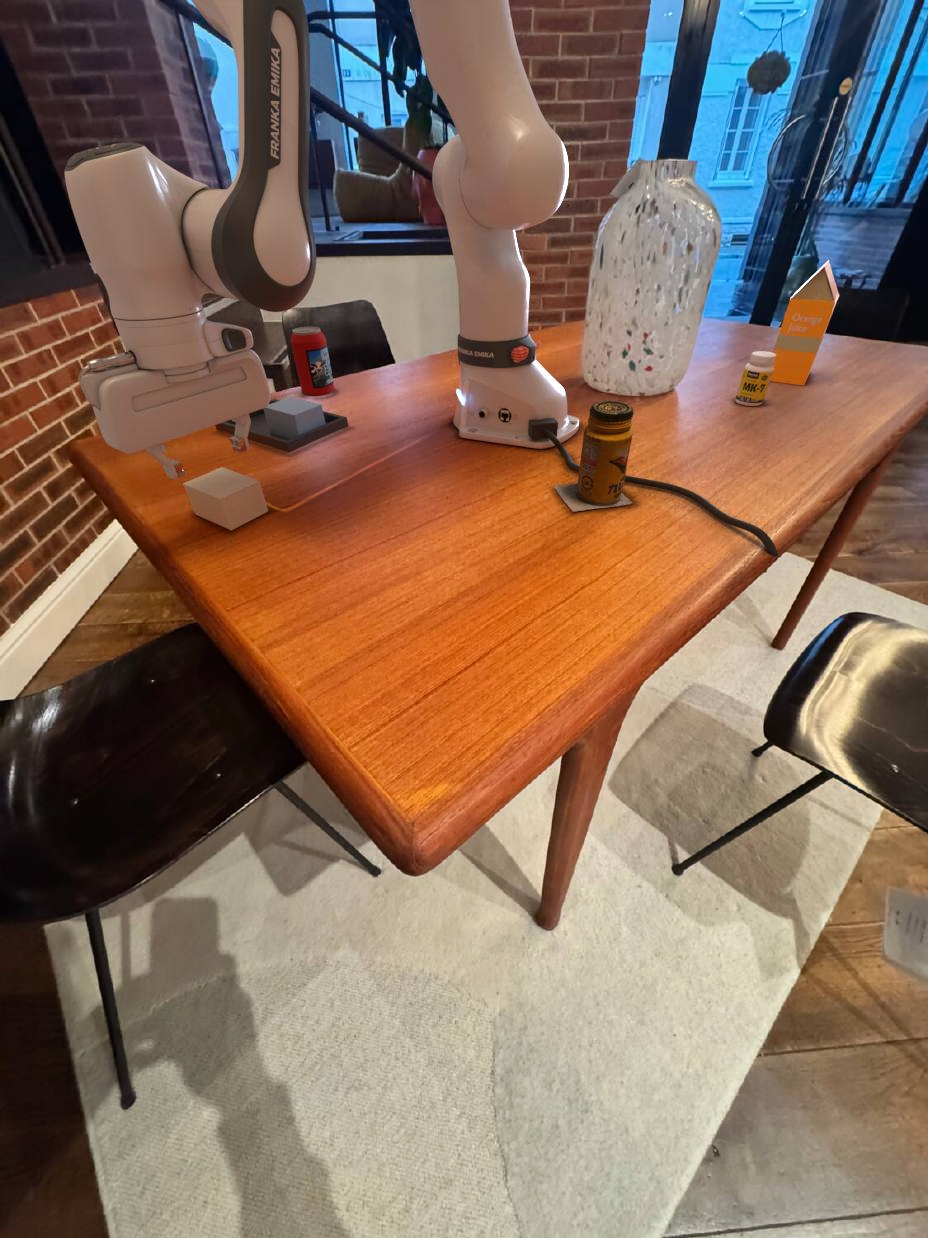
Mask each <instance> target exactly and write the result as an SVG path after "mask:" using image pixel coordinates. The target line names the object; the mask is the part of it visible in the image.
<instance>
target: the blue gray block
mask: <svg viewBox="0 0 928 1238" xmlns="http://www.w3.org/2000/svg"><path fill="white" fill-rule="evenodd" d="M279 400H280V401H277V402H275V403H272V404H269V405H268V407H266V408H263V409H264V413H265V417H266V420H267V424H268V428H269V431H270V433H272V434H275V435H279V436H282V437H285V438H289V439H292V438H294V437H297V436H299V435H302V434H304V433H306V432H309V431H311V430H313V429H316V428H318V427H320V426H323V425H325V419H324V414H323V411H324V409H323V405H322V404H321V403H316V402H314V401H309V400H306V399H305V400H304V399H302V398H301V399H300V398H297V397H293V396H289V397H286V398H282V399H279Z"/></svg>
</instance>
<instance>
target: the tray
mask: <svg viewBox="0 0 928 1238" xmlns="http://www.w3.org/2000/svg"><path fill="white" fill-rule="evenodd" d="M280 400H281V399H276V398H273V399H270V402H269V404H272V403H275V402H277V401H280ZM323 414H324V419H325V425H323V426H320V427H318V428H316V429H313V430H311V431H309V432H306V433H304V434H302V435H299V436H297V437H294V438H292V439H289V438H285V437H282V436H279V435H275V434H272V433H270V431H269V428H268V424H267V420H266V417H265V413H264V409H260V410H257V411H254V412H252V413H249V416H250V420H251V424H250V429H249V433H248V437H247V439H248V441H252V442H255V443H259V444H262V445H265V446H268V447H271V448H274V449H278V450H280V451H284V452H286V453H291V452H293V451H296V450H298V449H300V448H302V447H305V446H306V445H309V444H311V443H313V442H316V441H318V440H320V439H322V438H325V437H327V436H329V435H331V434H333V433H336V432H338V431H340V430H343V429H344V428H347V427H349V422H348V417H347V416H343V415H340V414H335V413H332V412H328V411H324V410H323ZM235 425H236V422H234V421H232V420H228V421H226V422H223V423H220V424H217V425H214V427H215V429H216V430H218V431H221V432H223V433H227V434H230V435H233V436H234V434H235Z"/></svg>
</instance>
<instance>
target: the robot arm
mask: <svg viewBox="0 0 928 1238" xmlns="http://www.w3.org/2000/svg"><path fill="white" fill-rule="evenodd" d="M191 2H192V3H193V5H194V7H195V8H196V10H197V11H198V12H199V14H200V15H201V16H202V17H203V18H204V19H205V21H206V22H207V23H208V24H209V25H210V26H211V27H212V28H213V29H214V30H215V31H216V32H218V33H219V34H220V35H221V36H223V37H224V38H226V39H227V40H228V41H229V42H230V44H231V48H232V50H233V53H234V57H235V62H236V69H237V110H238V111H237V113H238V117H237V119H238V120H237V121H238V123H237V125H238V165H237V170H236V174H235V177H234V178H233V181H232V182H231V184H230V186H229V187H228V188H227V189H226V188H223V189H222V188H211V187H210V186H209V185H208V184H205V183H203V182H200V181H198V180H196V179H194V178H191V177H189V176H187V175H186V174H184V173H182V172H180V171H178V170H177V169H174V168H173V167H172V166H170V165H168V164H167V163H165V162H164V161H163V160H161V159H160V158H158V157H157V156H156V155H155V154H153V153H152V152H151V151H150V150H149V149H148V148H147V146H145V145H144V144H141V143H137V142H134V141H123V142H122V141H121V142H116V143H113V144H109V145H107V144H106V145H101V146H97V147H93V148H88V149H85V150H80V152H76V153H74V154H73V155H71V157H70V158H68V160H67V163H66V165H65V167H64V180H65V181H64V182H65V186H66V191H67V194H68V199H69V202H70V205H71V210H72V213H73V216H74V220H75V222H76V225H77V228H78V231H79V234H80V236H81V239H82V242H83V245H84V247H85V250H86V253H87V255H88V259H89V260H90V263H91V265H92V267H93V269H94V271H95V272H96V274H97V275H98V276H99V279H100V280H101V281H102V284H103V286H104V288H105V289H106V292H107V296H108V301H109V308H110V314H111V317H112V318H113V321H114V323H115V326H116V329H117V331H118V334H119V336H120V339H121V342H122V344H123V347H124V349H125V351H124V352H120V353H115V354H112V355H110V356H107V357H103V358H100V357H98V358H93V359H90V360H88V361H86V366H84V367H83V368H82V369H81V370H80V372H79V375H78V383H79V386H80V389H81V390H82V392H83V394H84V397H85V399H86V400H87V402H88V403H89V404H90V405H91V406H92V410H93V413H94V417H95V420H96V423H97V426H98V428H99V431H100V433H101V435H102V438H103V441H104V442H105V443H106V444H107V445H108V446H109V447H111V448H112V449H114V450H116V451H118V452H120V453H123V454H127V455H133V454H136V453H139V452H142V451H145V452H146V453H147V454H148V455H149V456H151V458H153V459H155V461H157V462H158V463H159V464H161V465H162V468H163V470H164V473H165V475H166V477H167V478H169V479H171V480H177V479H179V478H181V477H183V476H186V472H185V470H184V468H183V467H184V466H183V464H182V462H181V461H179V460H176V459H175V458H172V459H171V458H170V459H169V458H168V457H167V456H166V455H165V454H164V453H167V451H168V450H167V448H166V445H165V444H166V443H168V442H170V441H174V440H176V439H179V438H182V437H185V436H187V435H191V434H194V433H196V432H200V431H203V430H206V429H208V428H211V427H213V426H214V427H215V425H217V424H220V423H223V422H226V421H228V420H232V421H234V422H236V425H235V434H234V435H233V436H230V437H229V441H230V443H231V448H232V450H233V451H234V452H235V453H238V454H242V453H244V452H246V451H249V450H250V449H251V446H250V443H249V439H247V437H248V433H249V429H250V424H251V420H250V416H249V413H252V412H254V411H257V410H260V409H263V408H266V407H268V405H269V402H270V400H272V399H271V398H272V394H271V389H270V385H269V381H268V378H267V375H266V371H265V368H264V366H263V363H262V360H261V358H260V357H259V355H258V353H256V351H254V350H253V349H252V348H253V346H254V338H253V334H252V332H251V330H250V329H248V328H247V327H243V326H240V325H235V324H231V323H225V322H221V321H220V320H216V319H210V318H207V316H206V314H205V310H204V307H203V304H202V298H203V296H205V295H207V294H213V295H217V296H221V297H224V298H225V299H230V300H236V301H240V302H244V303H246V304H248V305H251V306H253V307H255V308H258V309H260V310H262V311H265V312H269V313H281V312H286V311H288V310H291V309H293V308H294V307H296V306H298V305H299V304H300V303H301V302H302V301H303V300H304V299H305V297H306V296H307V295H308V293H309V291H310V289H311V288H312V285H313V283H314V279H315V276H316V271H317V247H316V246H317V245H316V240H315V238H316V237H315V232H314V227H313V220H312V216H311V208H310V207H311V206H310V196H309V195H310V194H309V192H310V191H309V174H310V173H309V171H310V170H309V169H310V168H309V167H310V118H311V117H310V113H311V112H310V111H311V44H310V31H309V29H310V28H309V22H308V16H307V12H306V7H305V3H304V0H191ZM407 2H408V5H409V8H410V13H411V16H412V20H413V24H414V28H415V32H416V36H417V41H418V44H419V48H420V53H421V56H422V60H423V64H424V68H425V71H426V77H427V78H428V81H429V83H430V85H431V87H432V89H433V90H434V91H435V92H436V94H437V95H438V96H439V98H440V99H441V100H442V102H443V104H444V106H445V107H446V110H447V112H448V114H449V115H450V119H451V121H452V122H453V124H454V127H455V130H456V132H457V134H455V135H454V136H453V137H452V138H450V139H449V140H448V141H447V142H446V143H445V144H444V145H443V146H442V147H441V148H440V150H439V151H438V153H437V155H436V157H435V160H434V163H433V166H432V175H431V178H432V179H431V182H432V190H433V193H434V197H435V199H436V202H437V204H438V205H439V207H440V209H441V211H442V213H443V216H444V218H445V223H446V228H447V232H448V236H449V237H448V238H449V240H450V246H451V251H452V255H453V260H454V266H455V271H456V278H457V292H458V295H457V296H458V316H459V317H458V318H459V319H458V320H459V333H458V334H457V359H458V365H459V382H458V388H456V395H457V401H456V406H455V411H454V416H453V421H452V423H453V425H454V426H455V427H456V428H457V429H458V436H459V437H460V438H462V439H468V440H473V441H474V440H475V441H482V442H488V443H489V442H490V443H497V444H503V445H509V446H517V447H523V448H531V449H539V450H542V449H549V448H552V447H556V449H557V451H558V452H559V453H560V455H561V456H562V457H563V460H565V463H566V465H567V466H568V468H570V469H571V470H572V471H575V472H577V473H578V474H579V468H580V464H577V463H575V462H574V461H573V460H572V458H571V456H570V454H569V453H568V451H567V449H566V447H564V446H563V444H562V443H564V442H566V441H568V440H569V439H571V438H572V437H573V436H575V434H577V432H578V431H579V429H580V419H579V418H578V417H576V416H573V415H570V414H569V413H568V398H567V392H566V390H565V388H564V386H562V385H561V384H560V383H559V382H558V381H557V379H555V378H554V376H552V375H551V374H550V372H549V371H548V370H547V369H546V368H545V367H544V366H543V365H542V364H541V363H540V362H539V361H538V360H537V355H536V352H537V351H536V350H539V349H541V348H542V346H541V344H542V342H543V340H541V339H540V340H537V341H534V340H533V338H532V337H531V334H530V333H529V331H528V330H529V309H530V292H531V291H530V287H531V281H530V280H531V279H530V274H529V272H528V269H527V267H526V265H525V264H524V262H523V259H522V256H521V253H520V250H519V245H518V241H517V235H516V231H522V230H525V229H529V228H531V227H535V226H537V225H540V224H542V223H544V222H546V221H548V220H549V219H551V217H553V215H554V214H555V213H556V212H557V210H558V209H559V207H560V206H561V204H562V203H563V200H564V197H565V195H566V193H567V188H568V183H569V175H570V174H569V170H570V169H569V158H568V154H567V151H566V147H565V145H564V143H563V141H562V139H561V138H560V136H559V135H558V134H557V132H556V131H554V129H553V128H552V127H551V126H550V125H549V123H548V122H547V120H546V118H545V117H544V115H543V113H542V111H541V108H540V106H539V104H538V101H537V99H536V97H535V95H534V92H533V89H532V87H531V84H530V81H529V78H528V75H527V73H526V70H525V67H524V64H523V60H522V58H521V54H520V51H519V47H518V45H517V40H516V36H515V35H516V34H515V31H514V27H513V20H512V15H511V13H512V12H511V8H510V1H509V0H407ZM89 371H90V372H89ZM624 483H630V484H634V485H639V486H644V487H650V488H656V489H661V490H665V491H668V492H673V493H676V494H679V495H681V496H684V497H686V498H687V499H690V500H692V501H694V502H695V503H697V504H698V505H700V506H701V507H702V508H704V509H705V510H706V511H707V512H708V513H709V514H710V515H712V516H713V517H715V518H716V519H718V520H720V521H721V522H723V523H725V524H727V525H730V526H732V527H735V528H738V529H741V530H744V531H746V532H748V533H750V534H753V535H754V536H755V537H756V538H757V539H759V541H760V542H761V543H762V545H763V546H764V547H765V550H766V552H767V554H768V555H770V556H772V557H778V556H779V554H778V553H779V552H778V549H777V547H776V545H775V543H774V541H773V539H772V538H771V537H770V536H769V535H768V534H767V533H766V531H764V530H763V529H762V528H760V527H759V526H757V525H754V524H753V523H751V522H750V523H749V522H747V521H744V520H741V519H739V518H735V517H732V516H730V515H729V514H727V513H725V512H723V511H722V510H720V509H719V508H718V507H716V506H715V505H714V504H713V503H711V502H710V501H709V500H707V499H706V498H705V497H703V496H701V495H700V494H698V493H697V492H694V491H692V490H691V489H687V488H684V487H682V486H680V485H675V484H672V483H668V482H664V481H659V480H653V479H647V478H643V477H637V476H631V475H627V474H625V480H624Z"/></svg>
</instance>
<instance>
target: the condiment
mask: <svg viewBox="0 0 928 1238" xmlns="http://www.w3.org/2000/svg"><path fill="white" fill-rule="evenodd" d="M633 417H634V408H633V407H632V406H631V404H629V403H626V402H623V401H617V400H601V401H598V402H595V403H593V405H591V407H590V408H589V416H588V419H587V423H588V424H587V425H586V426H585V428H584V430H583V437H582V443H581V451H580V453H581V454H580V461H579V466H580V468H579V473H578V478H577V482H575V483H569V484H559V485H554V486H553V488H554V490H555V491H556V492H557V494H558V495H559V496H560V498H561V499H562V500H563V502H564V503H565V504H566V505H567V507H568V508H569V509H570V510H571V511H572V512H573V513H575V512H579V511H580V512H581V511H586V510H594V509H607V508H614V507H621V506H626V505H627V506H628V505H631V504H633V502H632V500H630V499H629V498H628V497H627V496H626V494H624V493H623V488H624V483H625V482H624V480H625V475H627V468H628V462H629V456H630V452H631V446H632V442H633V435H634V431H633V428H632V425H633Z"/></svg>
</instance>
